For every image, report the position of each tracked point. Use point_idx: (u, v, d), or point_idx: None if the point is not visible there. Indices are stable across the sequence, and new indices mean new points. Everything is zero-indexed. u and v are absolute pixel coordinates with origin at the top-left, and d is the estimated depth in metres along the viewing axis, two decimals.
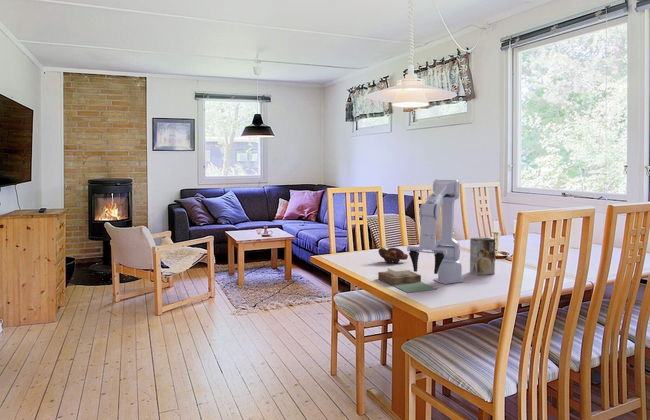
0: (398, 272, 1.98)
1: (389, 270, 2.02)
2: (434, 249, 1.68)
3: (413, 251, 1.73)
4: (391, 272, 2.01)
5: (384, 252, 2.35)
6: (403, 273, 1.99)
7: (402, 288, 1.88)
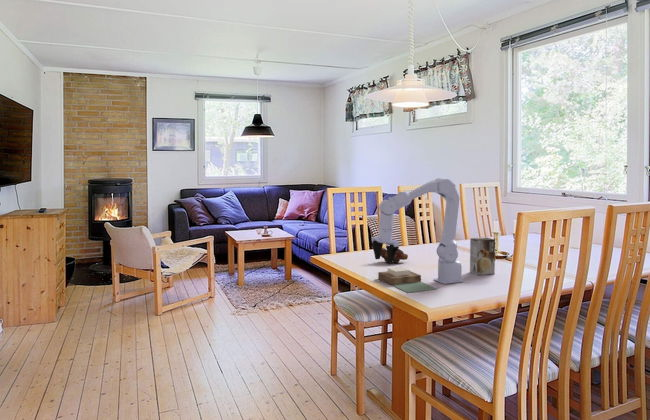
0: (398, 272, 1.98)
1: (389, 270, 2.02)
2: (386, 241, 1.92)
3: (375, 241, 1.99)
4: (391, 272, 2.01)
5: (384, 252, 2.35)
6: (403, 273, 1.99)
7: (402, 288, 1.88)
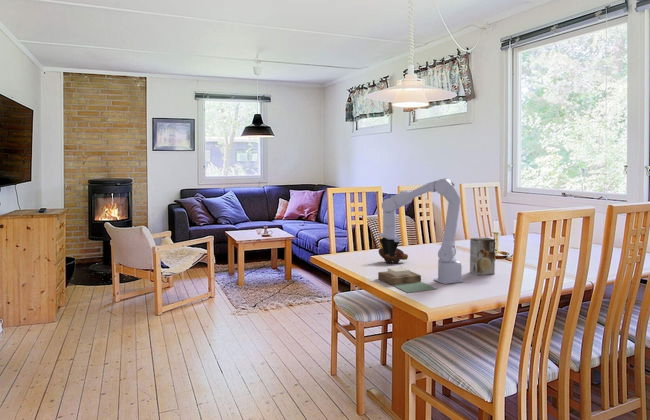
0: (398, 272, 1.98)
1: (389, 270, 2.02)
2: (388, 237, 2.04)
3: (382, 237, 2.12)
4: (391, 272, 2.01)
5: None
6: (403, 273, 1.99)
7: (402, 288, 1.88)
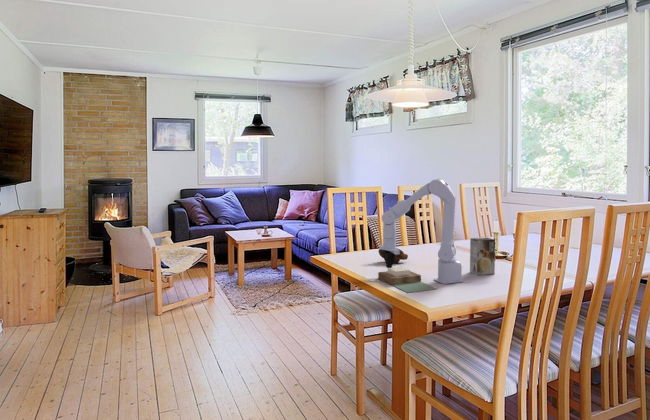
0: (398, 272, 1.98)
1: (389, 270, 2.02)
2: (389, 249, 2.05)
3: None
4: (391, 272, 2.01)
5: None
6: (403, 273, 1.99)
7: (402, 288, 1.88)
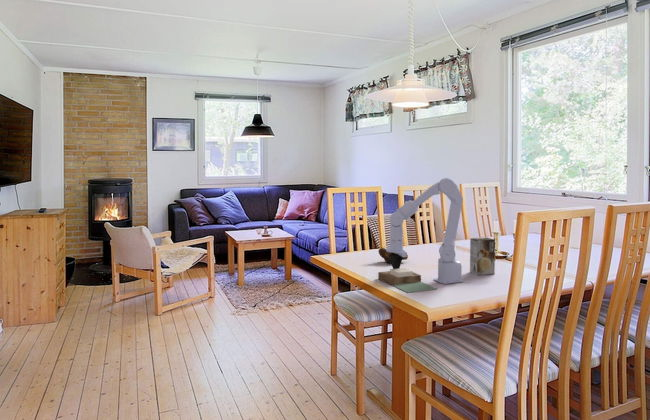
0: (400, 273, 1.95)
1: (391, 271, 2.00)
2: (396, 252, 1.99)
3: None
4: (393, 273, 1.98)
5: (384, 252, 2.35)
6: (405, 274, 1.96)
7: (402, 288, 1.88)
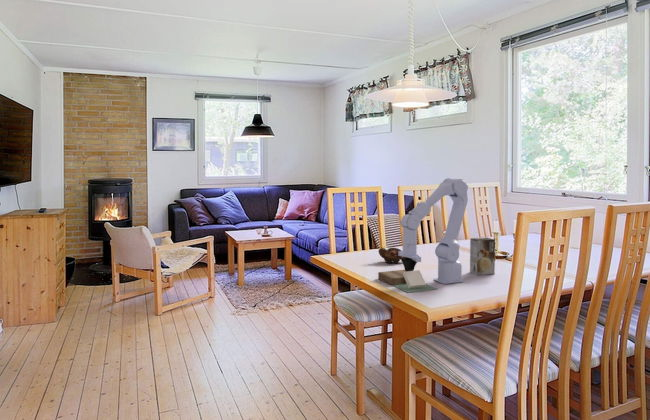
0: (413, 286, 1.87)
1: (405, 275, 1.90)
2: (409, 256, 1.89)
3: None
4: (406, 280, 1.89)
5: (384, 252, 2.35)
6: (417, 286, 1.88)
7: (402, 288, 1.88)
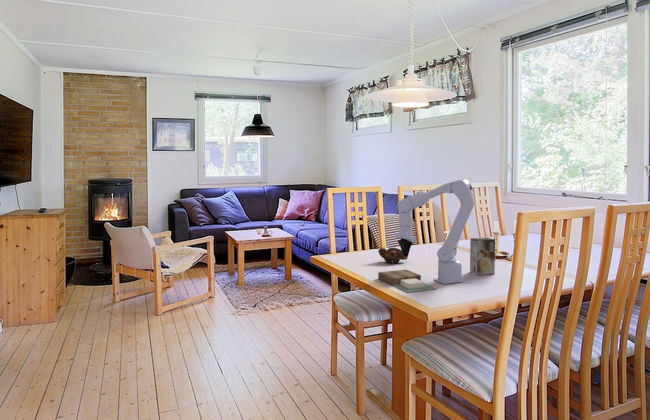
0: (411, 284, 1.88)
1: (402, 282, 1.92)
2: (405, 237, 2.03)
3: None
4: (404, 284, 1.91)
5: (384, 252, 2.35)
6: (417, 286, 1.89)
7: (402, 288, 1.88)
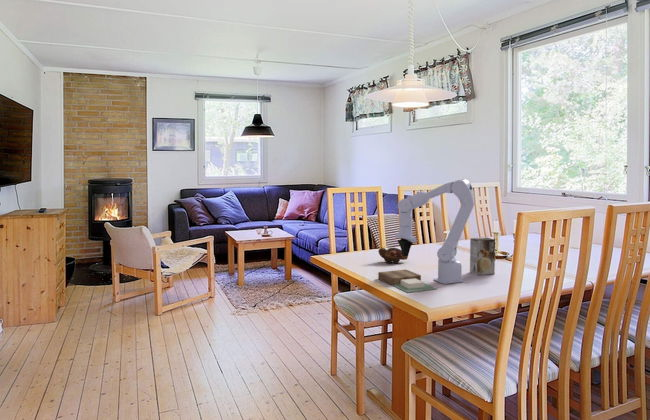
0: (411, 284, 1.88)
1: (402, 282, 1.92)
2: (405, 237, 2.03)
3: None
4: (404, 284, 1.91)
5: (384, 252, 2.35)
6: (417, 286, 1.89)
7: (402, 288, 1.88)
